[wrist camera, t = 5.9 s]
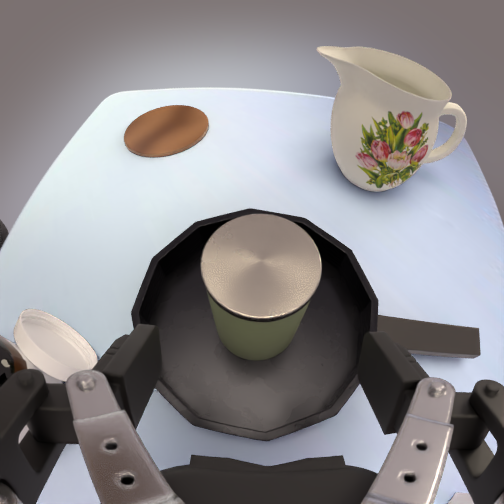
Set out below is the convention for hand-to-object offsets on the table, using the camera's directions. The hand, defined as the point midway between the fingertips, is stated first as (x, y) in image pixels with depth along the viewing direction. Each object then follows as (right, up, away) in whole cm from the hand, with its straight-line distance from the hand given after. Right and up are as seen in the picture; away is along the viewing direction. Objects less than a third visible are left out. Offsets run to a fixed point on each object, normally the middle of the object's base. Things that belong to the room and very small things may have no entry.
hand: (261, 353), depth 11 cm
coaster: (-11, +19, +25) cm, 34 cm away
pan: (+5, -3, +12) cm, 13 cm away
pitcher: (+14, +13, +22) cm, 29 cm away
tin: (0, -2, +12) cm, 12 cm away
